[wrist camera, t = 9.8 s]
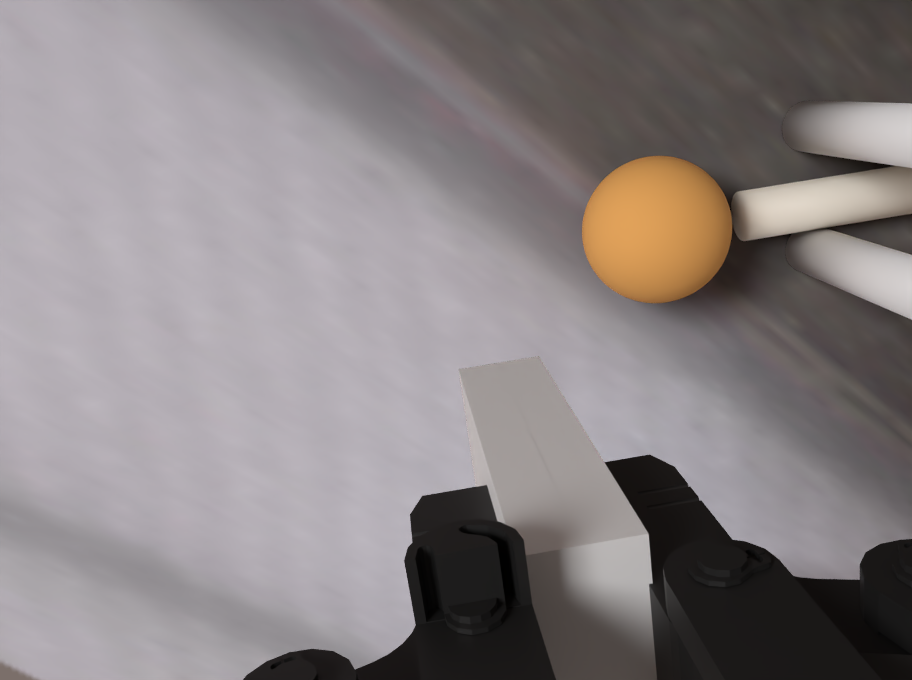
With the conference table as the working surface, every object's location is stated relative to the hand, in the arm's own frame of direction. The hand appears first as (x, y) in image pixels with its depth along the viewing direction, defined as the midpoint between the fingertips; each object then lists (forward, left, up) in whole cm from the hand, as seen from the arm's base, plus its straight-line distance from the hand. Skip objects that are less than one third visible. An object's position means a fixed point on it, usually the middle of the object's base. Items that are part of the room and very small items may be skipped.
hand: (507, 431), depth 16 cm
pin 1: (-16, -2, -19) cm, 25 cm away
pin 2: (-16, +2, -19) cm, 25 cm away
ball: (-8, 0, -17) cm, 19 cm away
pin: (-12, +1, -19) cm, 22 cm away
